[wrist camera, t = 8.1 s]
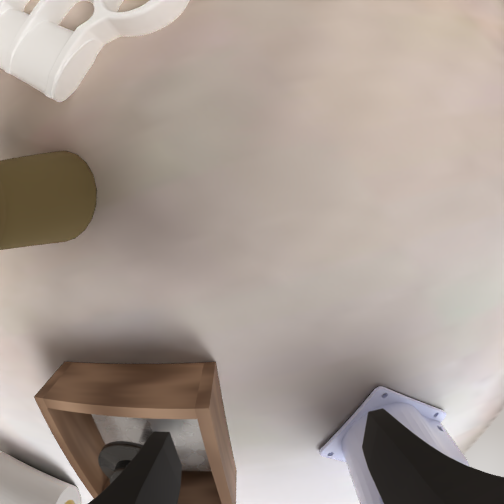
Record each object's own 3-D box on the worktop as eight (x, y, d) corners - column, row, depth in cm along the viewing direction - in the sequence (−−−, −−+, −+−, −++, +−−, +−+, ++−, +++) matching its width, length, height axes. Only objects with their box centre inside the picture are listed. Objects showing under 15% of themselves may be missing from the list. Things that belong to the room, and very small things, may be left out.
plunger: (196, 383, 21) (182, 450, 14) (216, 464, 23) (211, 524, 16) (84, 381, 21) (47, 434, 14) (118, 459, 23) (98, 511, 16)
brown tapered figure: (45, 255, 19) (-70, 311, 8) (16, 178, 18) (-105, 189, 7) (110, 218, 19) (-9, 260, 8) (78, 133, 17) (-48, 108, 7)
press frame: (215, 361, 21) (209, 408, 16) (236, 470, 23) (235, 514, 18) (64, 361, 21) (34, 396, 16) (111, 464, 23) (96, 501, 18)
